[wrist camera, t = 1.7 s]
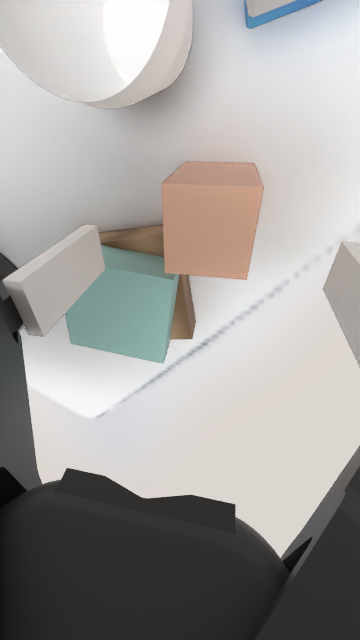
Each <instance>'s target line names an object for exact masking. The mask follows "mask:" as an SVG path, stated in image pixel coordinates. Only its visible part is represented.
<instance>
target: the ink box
mask: <svg viewBox="0 0 360 640" xmlns="http://www.w3.org/2000/svg"><path fill="white" fill-rule="evenodd" d="M320 1H322V0H245V13H246V24H247V27H248V28H254V27H256V26H259V25H261V24H264V23H266V22H269V21H272V20H274V19H276V18H279V17H282V16H284V15H287V14H290V13H292V12H295V11H297V10H300V9H302V8H305V7H308V6H310V5H313V4H315V3H317V2H320Z"/></svg>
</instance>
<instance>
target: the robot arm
mask: <svg viewBox="0 0 360 640" xmlns="http://www.w3.org/2000/svg"><path fill="white" fill-rule="evenodd" d="M104 270H105V264H104V259H103V254H102V249H101V244H100V239H99V233H98V228H97V225H88V224H84V225H83V226H81V227H80V228H78V229H77V230H75V231H74V232H72V233H71V234H69V235H68V236H67V237H65V238H64V239H62V240H61V241H59V242H58V243H56V244H55V245H53V246H52V247H50V248H49V249H47V250H46V251H44V252H43V253H41V254H40V255H38V256H37V257H36V258H34V259H33V260H31V261H30V262H28V263H26V264H25V265H23V266H22V267H20V268H19V269H16V268H15V267H14V266H13V265H12V264H11V263H10V262H9V261H8V260H7V259H6V258H5V257H3V256H2V255H1V254H0V640H360V446H359V447H358V449H357V451H356V452H355V453H354V455H353V456H352V458H351V459H350V461H349V462H348V464H347V465H346V467H345V468H344V469H343V471H342V472H341V474H340V475H339V477H338V478H337V480H336V481H335V483H334V484H333V486H332V487H331V488H330V490H329V491H328V493H327V494H326V496H325V497H324V499H323V500H322V502H321V503H320V505H319V506H318V508H317V509H316V511H315V512H314V514H313V515H312V516H311V518H310V519H309V521H308V522H307V524H306V525H305V526H304V528H303V529H302V531H301V532H300V534H299V535H298V536H297V537H296V538H295V540H294V541H293V542H292V543H291V545H290V546H289V547H288V549H287V550H286V551H285V553H284V554H283V555H282V557H281V558H279V556H278V555H277V553H276V552H275V551H274V549H273V548H272V547H271V546H270V545H269V544H268V543H267V541H266V540H265V539H264V538H263V537H262V536H261V535H260V534H259V533H257V532H256V531H255V530H254V529H253V528H251V527H250V526H249V525H248V524H246V523H245V522H243V521H242V520H240V519H238V518H236V517H235V504H231V503H226V502H222V501H217V500H212V499H208V498H203V497H199V496H194V495H184V496H172V497H161V498H149V499H146V498H142V497H139V496H138V495H136V494H134V493H133V492H131V491H129V490H128V489H126V488H124V487H122V486H121V485H119V484H118V483H116V482H114V481H112V480H111V479H109V478H107V477H106V476H102V475H97V474H93V473H88V472H83V471H79V470H74V469H70V468H67V469H66V471H65V473H64V475H63V477H62V479H61V480H57V481H53V482H48V483H45V484H42V482H41V479H40V477H39V474H38V470H37V464H36V456H35V448H34V440H33V432H32V424H31V416H30V407H29V399H28V391H27V383H26V375H25V366H24V358H23V350H22V342H21V336H20V334H19V331H21V330H22V329H23V328H24V327H25V329H26V331H27V333H28V335H35V336H43V337H44V336H45V335H46V334H47V333H48V332H49V331H50V329H51V328H52V327H53V326H54V325H55V324H56V323H57V322H58V321H59V319H60V318H61V317H62V316H63V315H64V314H65V313H66V312H67V311H68V310H69V308H70V307H71V306H72V305H73V304H74V303H75V302H76V301H77V300H78V298H79V297H80V296H81V295H82V294H83V293H84V292H85V291H86V290H87V288H88V287H89V286H90V285H91V284H92V283H93V282H94V281H95V280H96V278H97V277H98V276H99V275H100V274H101V273H102V272H103V271H104ZM323 291H324V293H325V295H326V297H327V299H328V301H329V303H330V305H331V307H332V310H333V312H334V314H335V316H336V318H337V320H338V322H339V324H340V326H341V328H342V331H343V333H344V335H345V337H346V339H347V341H348V343H349V346H350V347H351V350H352V352H353V354H354V356H355V358H356V360H357V362H358V365H359V367H360V244H359V243H353V242H341V245H340V247H339V250H338V252H337V255H336V257H335V260H334V262H333V265H332V267H331V270H330V272H329V275H328V277H327V280H326V282H325V285H324V287H323Z"/></svg>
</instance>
